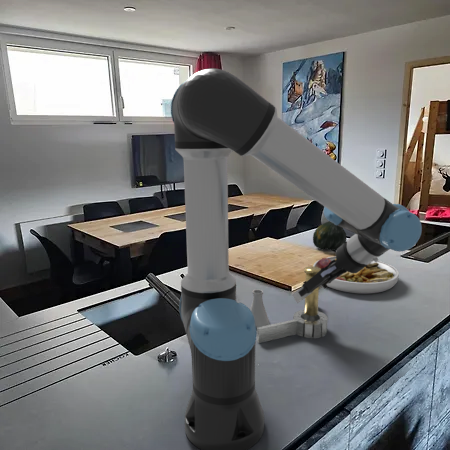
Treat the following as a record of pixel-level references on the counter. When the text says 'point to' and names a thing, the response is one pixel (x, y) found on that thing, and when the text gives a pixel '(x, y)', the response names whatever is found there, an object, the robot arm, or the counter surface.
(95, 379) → the counter surface
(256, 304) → the flask
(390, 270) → the bowl
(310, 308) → the hinge pin
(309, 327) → the hinge
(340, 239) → the squash
